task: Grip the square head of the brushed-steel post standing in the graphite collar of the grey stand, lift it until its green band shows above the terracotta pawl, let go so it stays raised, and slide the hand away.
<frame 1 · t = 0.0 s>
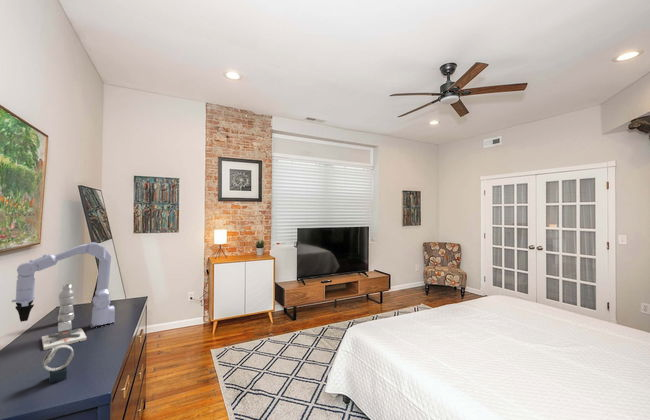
hand: (23, 318, 127), 10 cm above the dresser, fingers open, 7 cm apart
column: (64, 329, 129), point 5 cm above the dresser, slide at 0.0 cm
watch: (57, 378, 98), on the dresser
stand base: (64, 339, 129), on the dresser
silver twisted sculpture: (65, 322, 150), on the dresser
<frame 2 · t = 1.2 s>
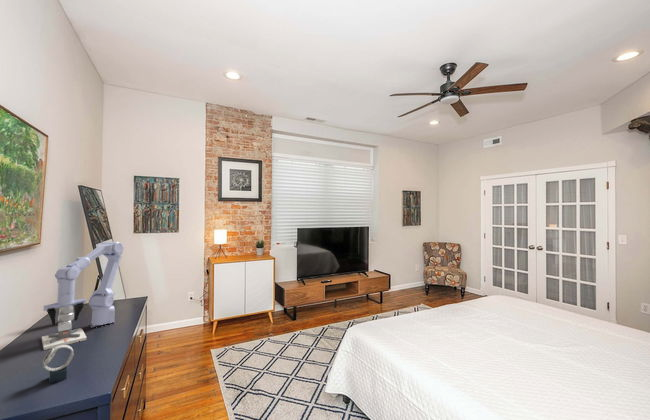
hand: (64, 322, 129), 8 cm above the dresser, fingers open, 7 cm apart
nothing on the dresser moved.
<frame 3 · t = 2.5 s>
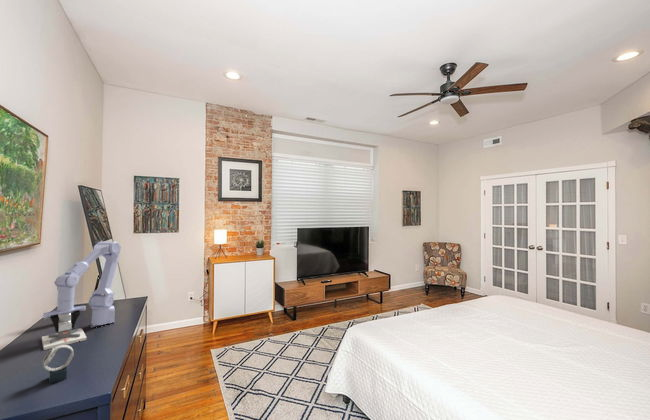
hand: (64, 329, 129), 5 cm above the dresser, fingers closed on column, 5 cm apart
column: (64, 329, 129), point 5 cm above the dresser, slide at 0.0 cm, touching gripper
everything else where it was.
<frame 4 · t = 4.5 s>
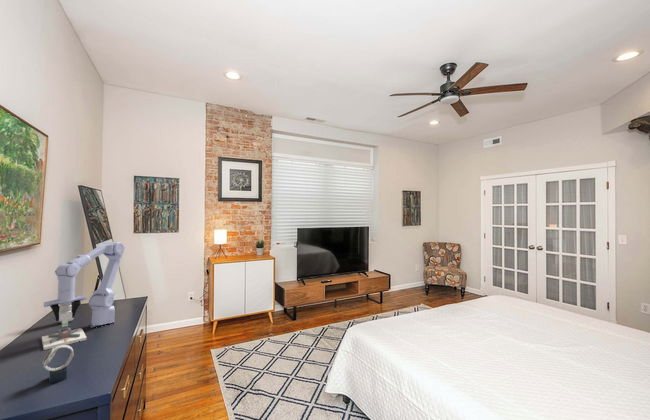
hand: (65, 318, 129), 9 cm above the dresser, fingers closed on column, 5 cm apart
column: (65, 319, 129), point 9 cm above the dresser, slide at 4.8 cm, touching gripper
everything else where it was.
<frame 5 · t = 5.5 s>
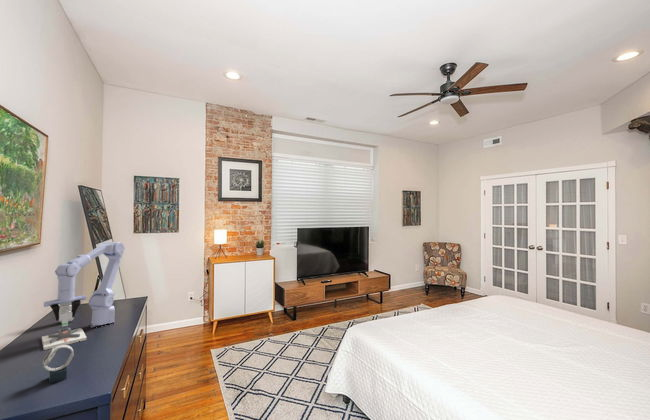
hand: (65, 318, 129), 10 cm above the dresser, fingers closed on column, 5 cm apart
column: (65, 318, 129), point 10 cm above the dresser, slide at 5.0 cm, touching gripper
everything else where it was.
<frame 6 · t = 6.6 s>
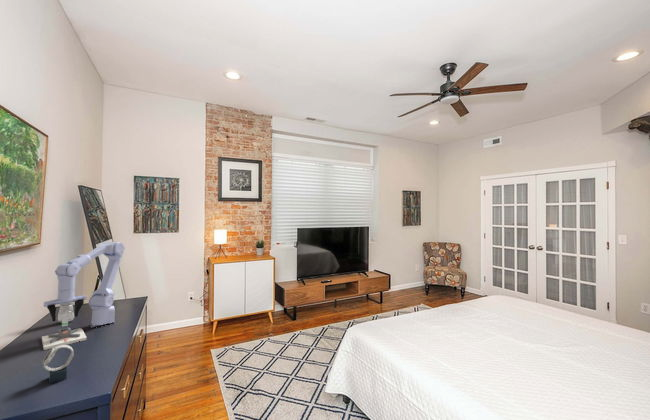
hand: (65, 318, 129), 10 cm above the dresser, fingers open, 7 cm apart
column: (65, 318, 129), point 10 cm above the dresser, slide at 5.0 cm
everything else where it was.
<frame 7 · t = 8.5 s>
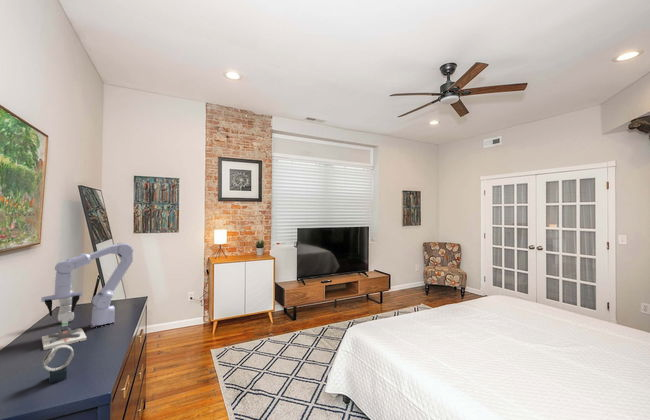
hand: (61, 313, 136), 10 cm above the dresser, fingers open, 7 cm apart
nothing on the dresser moved.
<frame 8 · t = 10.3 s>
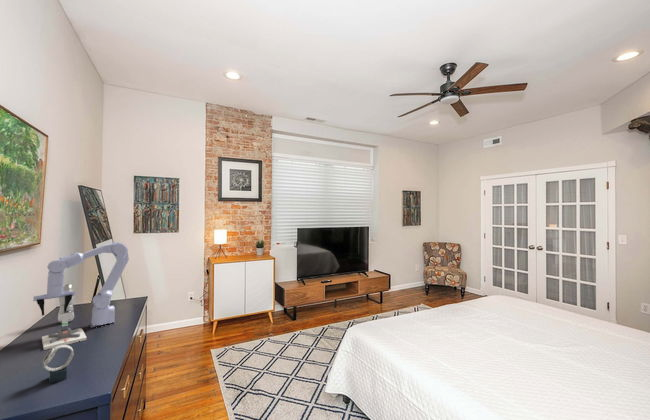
hand: (54, 313, 134), 10 cm above the dresser, fingers open, 7 cm apart
nothing on the dresser moved.
at the end: column slide at 5.0 cm; the gripper is holding nothing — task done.
